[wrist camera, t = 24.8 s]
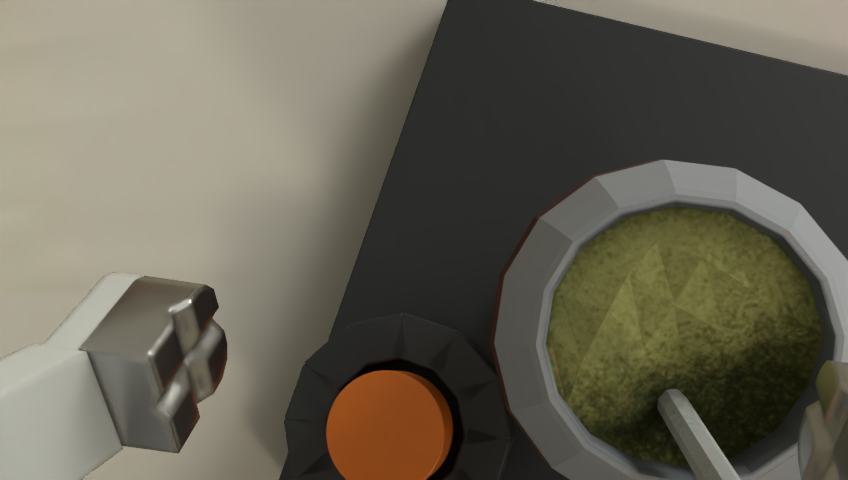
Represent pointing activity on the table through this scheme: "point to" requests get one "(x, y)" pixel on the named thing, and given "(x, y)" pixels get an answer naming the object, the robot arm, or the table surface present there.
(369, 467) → the button
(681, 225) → the mate gourd
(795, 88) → the scale
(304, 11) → the table surface
